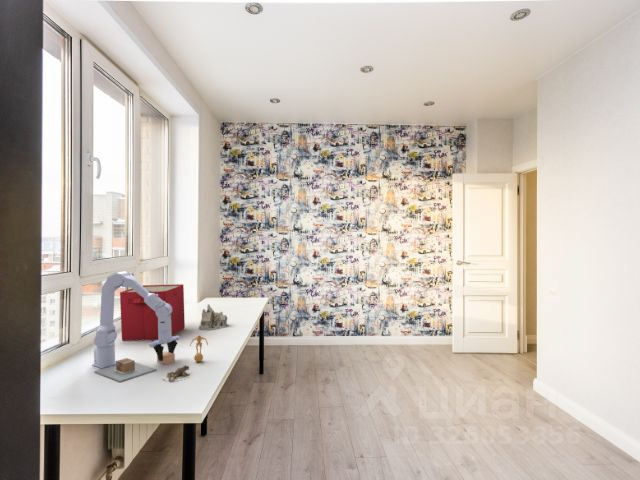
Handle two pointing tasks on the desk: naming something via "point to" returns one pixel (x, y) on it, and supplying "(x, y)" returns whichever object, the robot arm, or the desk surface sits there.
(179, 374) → the frog figurine
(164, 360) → the terracotta block
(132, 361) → the walnut block
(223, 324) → the stone castle ruin
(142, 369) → the board
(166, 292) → the storage cube
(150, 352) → the desk surface
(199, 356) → the figurine
